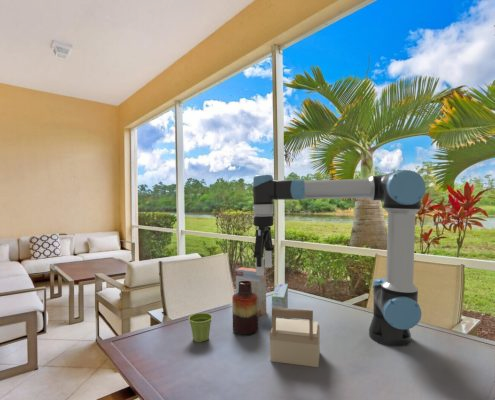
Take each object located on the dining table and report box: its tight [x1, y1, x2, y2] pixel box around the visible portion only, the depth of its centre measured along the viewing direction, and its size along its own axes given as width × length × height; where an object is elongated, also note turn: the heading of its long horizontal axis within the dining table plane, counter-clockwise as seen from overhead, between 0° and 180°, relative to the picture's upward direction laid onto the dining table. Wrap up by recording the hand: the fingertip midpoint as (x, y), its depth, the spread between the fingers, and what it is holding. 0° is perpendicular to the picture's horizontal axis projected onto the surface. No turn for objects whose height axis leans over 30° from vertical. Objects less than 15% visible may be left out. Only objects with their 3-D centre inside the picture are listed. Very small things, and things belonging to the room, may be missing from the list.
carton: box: [269, 324, 321, 368], centre depth 111 cm, size 16×10×10 cm, turn 75°
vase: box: [231, 281, 259, 337], centre depth 134 cm, size 11×11×20 cm
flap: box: [270, 307, 319, 341], centre depth 109 cm, size 15×14×9 cm
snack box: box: [271, 283, 289, 319], centre depth 141 cm, size 21×6×15 cm, turn 168°
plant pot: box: [188, 312, 214, 343], centre depth 126 cm, size 9×9×9 cm
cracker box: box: [235, 266, 267, 317], centre depth 155 cm, size 14×6×21 cm, turn 58°
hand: (264, 271), depth 122 cm, fingers open, 13 cm apart
